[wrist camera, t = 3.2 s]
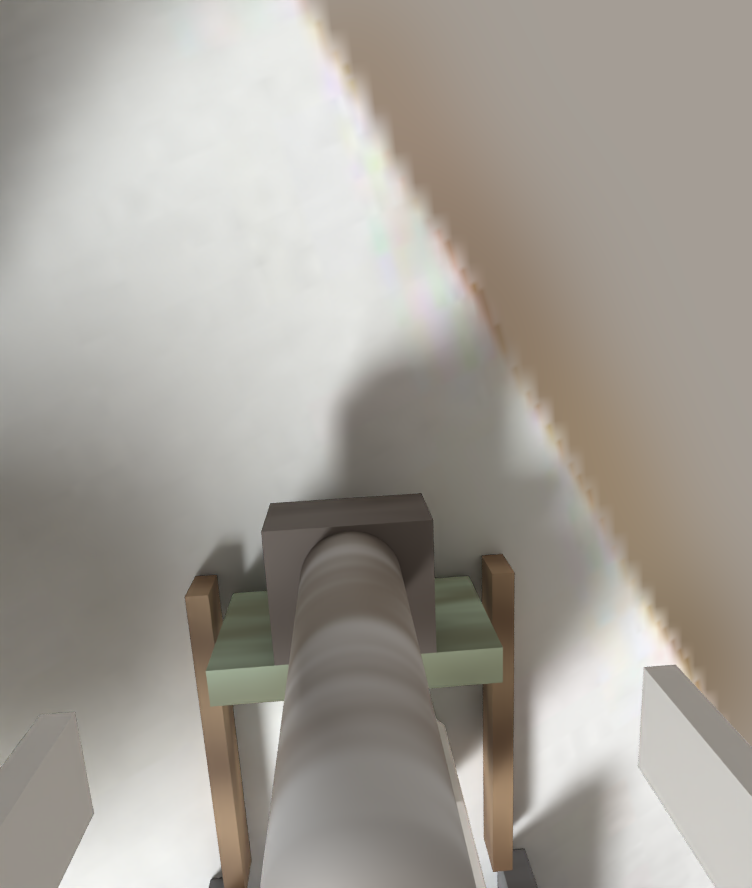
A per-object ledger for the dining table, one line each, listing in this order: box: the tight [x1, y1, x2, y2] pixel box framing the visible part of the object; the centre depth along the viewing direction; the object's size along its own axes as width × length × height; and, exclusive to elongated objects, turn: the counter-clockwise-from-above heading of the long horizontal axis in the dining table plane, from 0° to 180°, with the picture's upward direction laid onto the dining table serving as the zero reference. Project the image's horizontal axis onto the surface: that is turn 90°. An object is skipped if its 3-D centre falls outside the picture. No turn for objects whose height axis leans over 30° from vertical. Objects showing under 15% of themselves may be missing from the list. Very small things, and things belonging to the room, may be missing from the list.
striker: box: [206, 493, 503, 888], centre depth 19 cm, size 7×11×18 cm, turn 93°
